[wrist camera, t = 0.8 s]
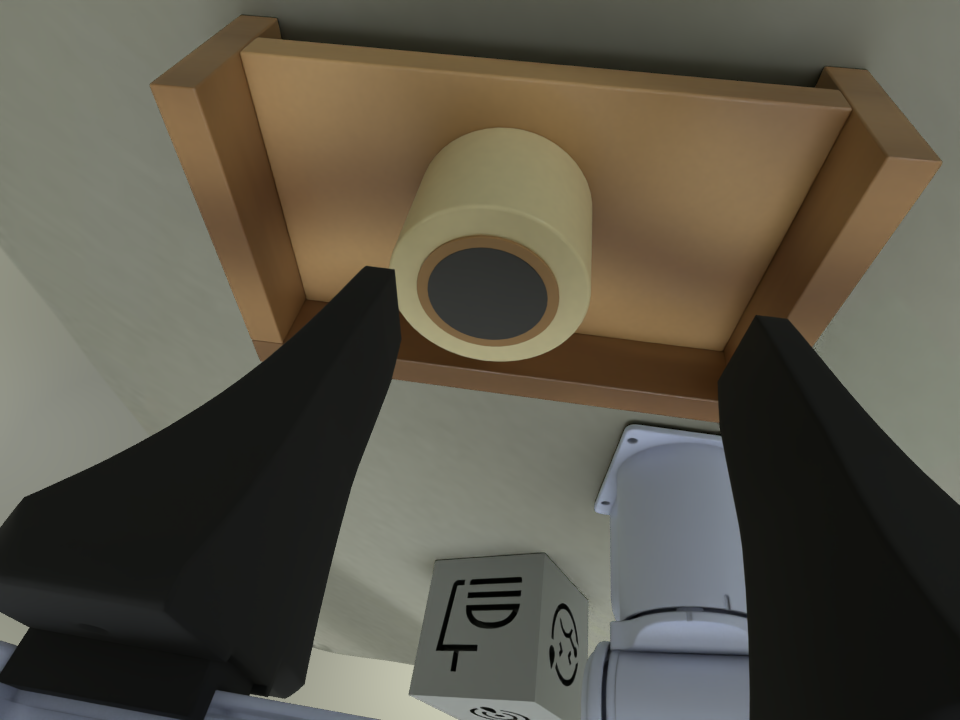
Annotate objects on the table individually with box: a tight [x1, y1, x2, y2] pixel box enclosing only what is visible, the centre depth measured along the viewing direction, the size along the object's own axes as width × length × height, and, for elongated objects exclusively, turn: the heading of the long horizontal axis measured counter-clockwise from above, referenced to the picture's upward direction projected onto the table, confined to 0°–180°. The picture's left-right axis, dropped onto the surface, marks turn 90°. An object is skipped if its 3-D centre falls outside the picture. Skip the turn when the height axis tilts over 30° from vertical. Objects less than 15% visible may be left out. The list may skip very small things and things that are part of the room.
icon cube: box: [409, 553, 588, 720], centre depth 44 cm, size 10×10×10 cm
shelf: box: [150, 15, 942, 423], centre depth 18 cm, size 10×18×5 cm, turn 89°
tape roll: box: [389, 127, 592, 361], centre depth 16 cm, size 5×5×4 cm
